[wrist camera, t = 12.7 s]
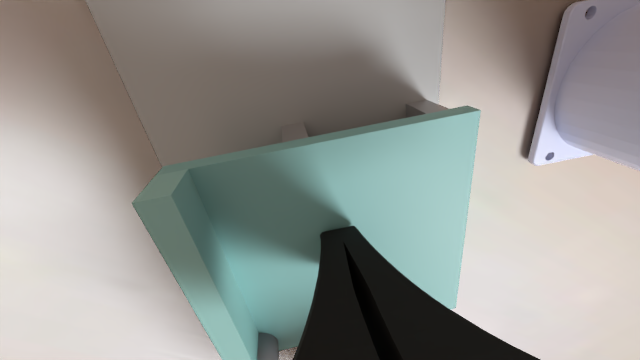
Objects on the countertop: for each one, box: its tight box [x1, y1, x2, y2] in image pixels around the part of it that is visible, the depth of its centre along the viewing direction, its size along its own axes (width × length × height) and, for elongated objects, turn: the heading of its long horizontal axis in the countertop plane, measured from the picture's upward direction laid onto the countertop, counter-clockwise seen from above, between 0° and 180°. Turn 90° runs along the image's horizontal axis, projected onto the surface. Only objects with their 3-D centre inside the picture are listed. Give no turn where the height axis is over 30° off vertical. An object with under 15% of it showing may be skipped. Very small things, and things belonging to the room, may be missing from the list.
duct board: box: [85, 0, 448, 167], centre depth 12 cm, size 13×18×4 cm
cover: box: [132, 106, 481, 360], centre depth 11 cm, size 11×10×2 cm
